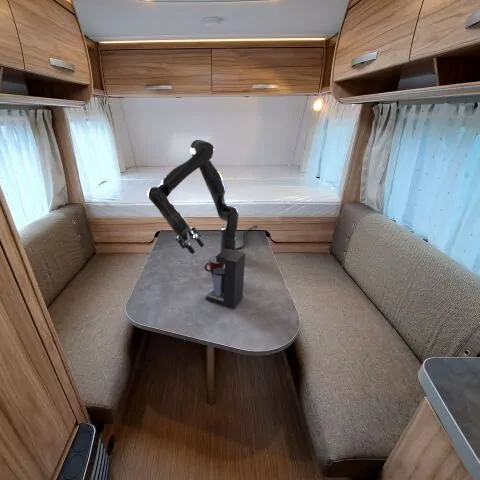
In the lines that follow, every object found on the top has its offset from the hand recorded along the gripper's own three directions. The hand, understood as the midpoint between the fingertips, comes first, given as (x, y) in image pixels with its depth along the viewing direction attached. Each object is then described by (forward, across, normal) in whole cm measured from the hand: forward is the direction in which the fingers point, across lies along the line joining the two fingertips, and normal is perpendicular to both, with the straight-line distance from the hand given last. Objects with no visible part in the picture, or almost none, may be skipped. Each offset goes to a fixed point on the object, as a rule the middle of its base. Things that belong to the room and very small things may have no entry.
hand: (198, 249), depth 126 cm
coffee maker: (+26, 0, +6) cm, 27 cm away
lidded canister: (+23, 0, +7) cm, 24 cm away
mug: (+16, +16, +16) cm, 28 cm away
